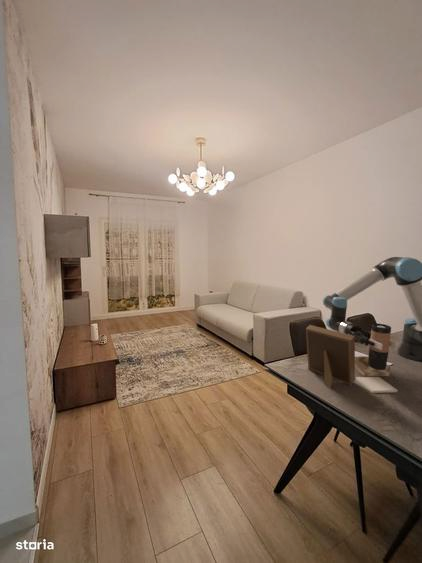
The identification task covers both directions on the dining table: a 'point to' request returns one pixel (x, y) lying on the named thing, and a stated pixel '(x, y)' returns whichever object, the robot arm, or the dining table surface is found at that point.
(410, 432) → the dining table surface
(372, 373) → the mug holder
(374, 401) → the dining table surface
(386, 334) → the travel mug
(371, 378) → the pad
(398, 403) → the dining table surface
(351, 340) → the photo frame
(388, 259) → the robot arm
